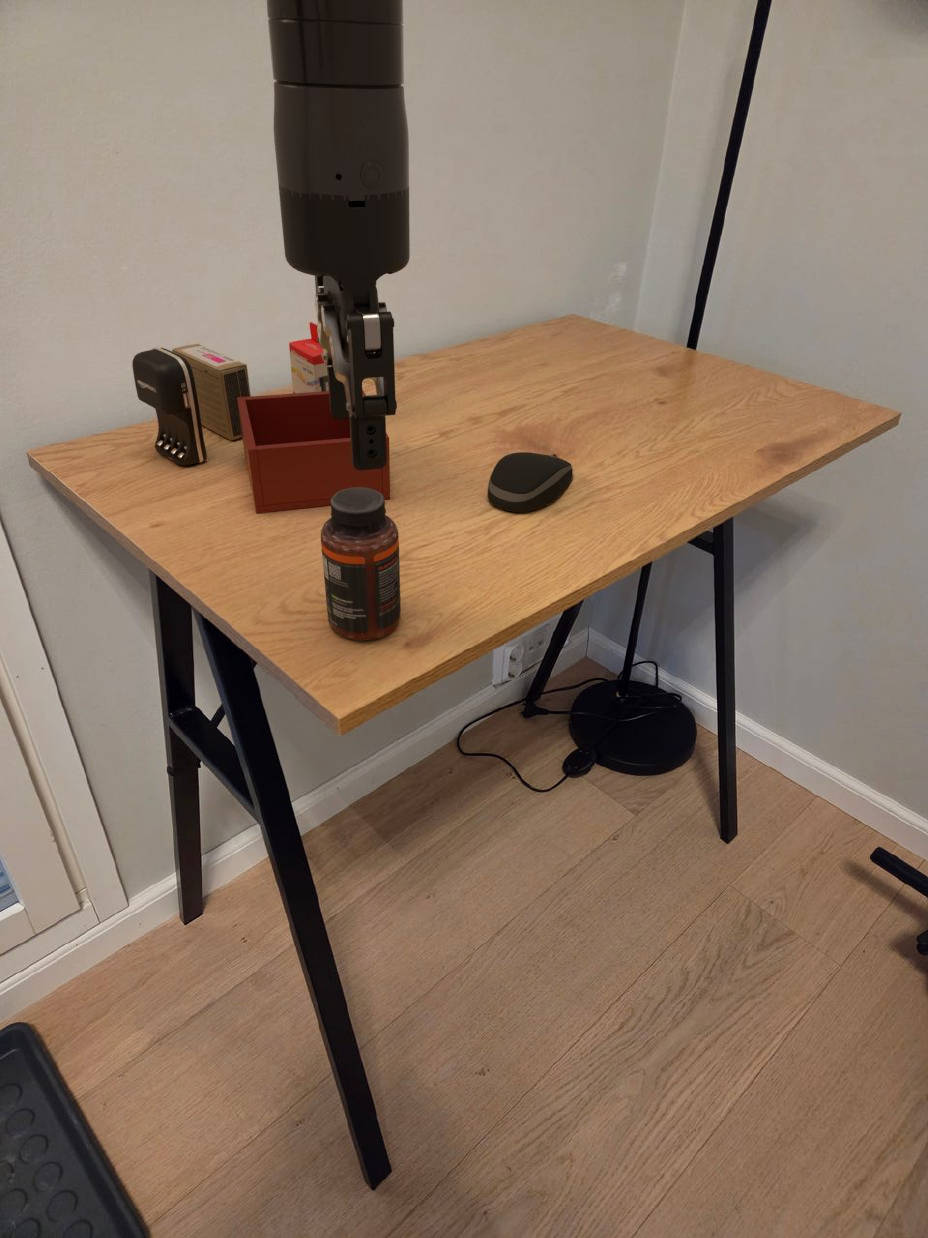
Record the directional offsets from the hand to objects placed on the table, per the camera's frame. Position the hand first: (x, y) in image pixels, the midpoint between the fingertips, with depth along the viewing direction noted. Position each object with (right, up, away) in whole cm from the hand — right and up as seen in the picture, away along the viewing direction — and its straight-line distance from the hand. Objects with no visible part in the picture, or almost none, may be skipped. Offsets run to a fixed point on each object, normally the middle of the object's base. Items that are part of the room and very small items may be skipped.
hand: (357, 440), depth 55 cm
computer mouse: (+15, +1, +30) cm, 33 cm away
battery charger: (-24, +5, +33) cm, 41 cm away
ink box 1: (-22, +11, +40) cm, 47 cm away
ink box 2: (-11, +14, +45) cm, 48 cm away
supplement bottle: (-1, -13, +10) cm, 16 cm away
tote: (-9, +3, +30) cm, 31 cm away
